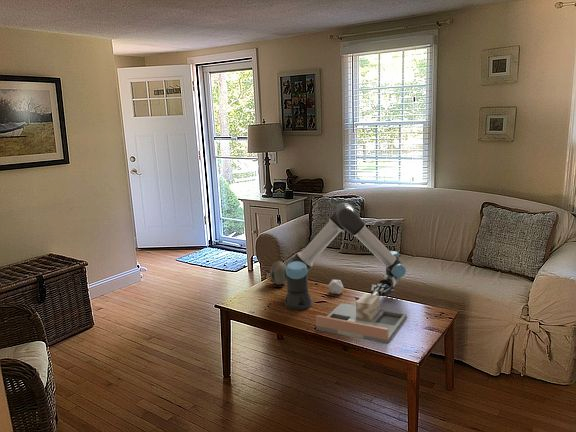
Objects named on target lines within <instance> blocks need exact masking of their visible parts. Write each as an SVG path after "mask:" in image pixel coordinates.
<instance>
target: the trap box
mask: <svg viewBox="0 0 576 432" xmlns="http://www.w3.org/2000/svg"><path fill="white" fill-rule="evenodd" d="M407 315H408V314H407V313H401V312H396V311H389V310H384V309H379V312H378V313H377V314H376V315H375V316H374V317H373V318H372V319H365V318H360V317H356V304H348V303H344V302H343V303H342V302H340V303H339V305H338V306H336V308H334V309H333V310H332V311H331V312H330V313H328V314H327V315H326V316H324V315H321V314H317V315H315V328H316V331H317V330H318V331H323V332H327V333H333V334H337V335H341V336H347V337H351V338H356V339H361V340H365V341H366V340H367V341H370V342H376V343H380V344H384V345H385V344H386V345H388V344H389V343H390V342H391V340H392V339H393V337H394V336H395V335H396V334H397V332H398V331H399V329H400V328H401V326H403V324H404V322H406V320H407V317H408V316H407Z"/></svg>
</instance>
